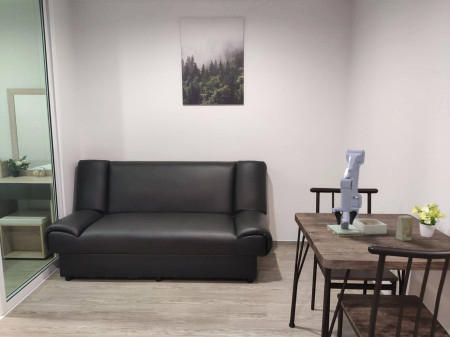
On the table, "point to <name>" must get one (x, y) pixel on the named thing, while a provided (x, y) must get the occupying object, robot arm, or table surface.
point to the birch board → (344, 234)
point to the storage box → (370, 226)
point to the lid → (344, 228)
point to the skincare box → (404, 228)
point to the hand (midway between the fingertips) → (344, 224)
